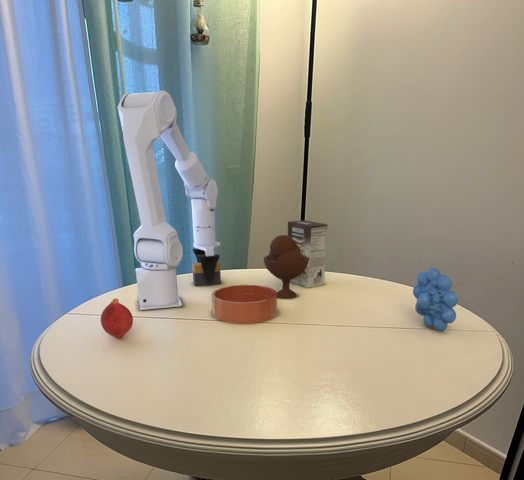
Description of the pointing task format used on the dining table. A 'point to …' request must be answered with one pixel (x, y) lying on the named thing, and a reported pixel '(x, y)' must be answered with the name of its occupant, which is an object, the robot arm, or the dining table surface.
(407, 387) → the dining table surface
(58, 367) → the dining table surface
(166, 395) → the dining table surface
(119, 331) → the onion
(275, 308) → the bowl
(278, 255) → the ice cream bowl
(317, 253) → the coffee box
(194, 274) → the eraser
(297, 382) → the dining table surface
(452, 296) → the grapes
